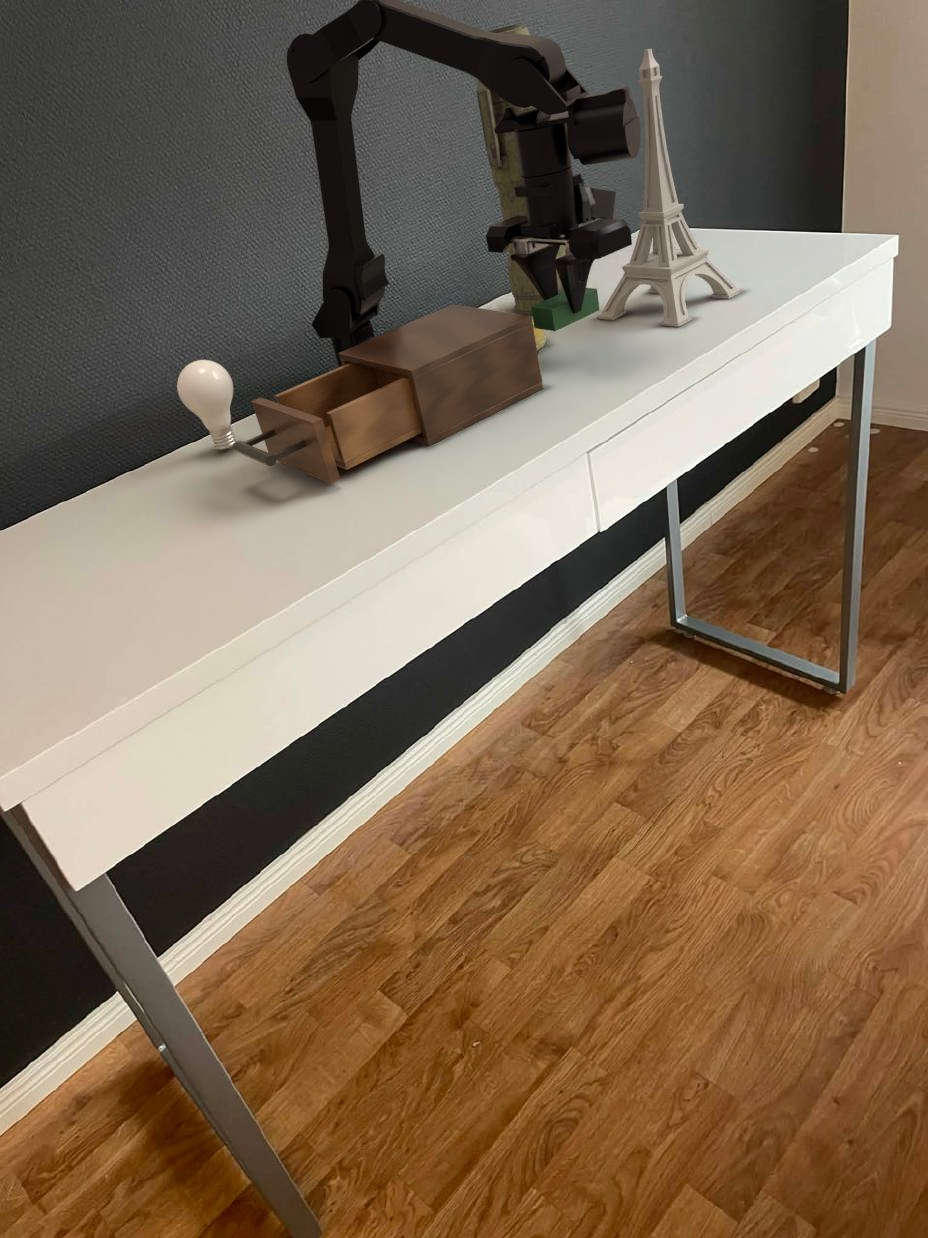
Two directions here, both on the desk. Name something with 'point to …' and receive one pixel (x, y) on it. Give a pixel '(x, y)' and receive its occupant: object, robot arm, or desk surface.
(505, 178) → the thermos
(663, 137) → the eiffel tower
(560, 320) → the dark green foam brick
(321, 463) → the drawer
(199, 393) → the lightbulb
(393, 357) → the cabinet
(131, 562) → the desk surface
